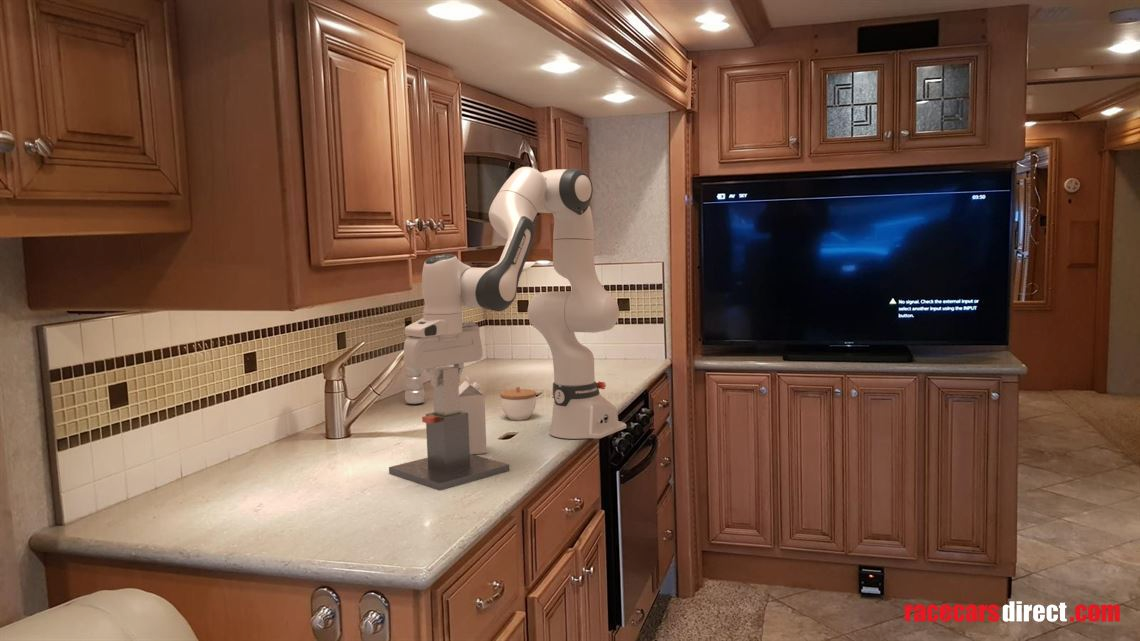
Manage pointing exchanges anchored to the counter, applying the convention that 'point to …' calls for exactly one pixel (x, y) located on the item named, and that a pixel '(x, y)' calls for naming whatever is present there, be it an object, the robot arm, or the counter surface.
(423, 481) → the jack base
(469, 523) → the counter surface
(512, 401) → the lidded jar
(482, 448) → the milk carton
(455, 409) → the block
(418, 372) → the plastic bottle
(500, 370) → the counter surface
